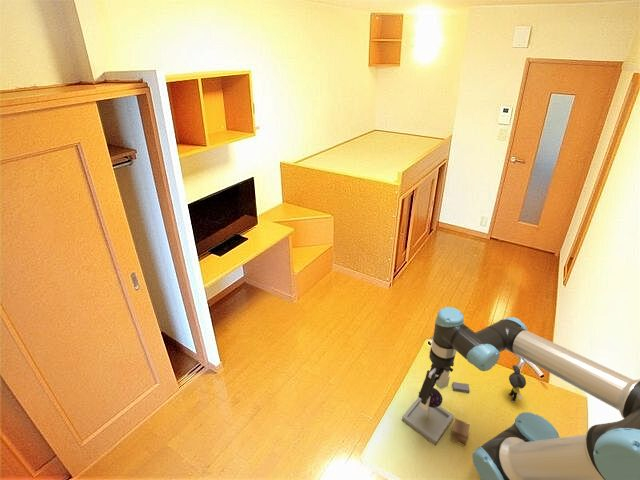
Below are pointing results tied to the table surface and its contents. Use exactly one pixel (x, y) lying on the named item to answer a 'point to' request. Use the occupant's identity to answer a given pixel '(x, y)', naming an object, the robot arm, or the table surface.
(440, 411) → the tray
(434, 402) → the lollipop
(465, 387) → the rubber eraser
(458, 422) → the walnut cube
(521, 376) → the toy
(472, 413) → the table surface
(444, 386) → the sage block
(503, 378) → the table surface
